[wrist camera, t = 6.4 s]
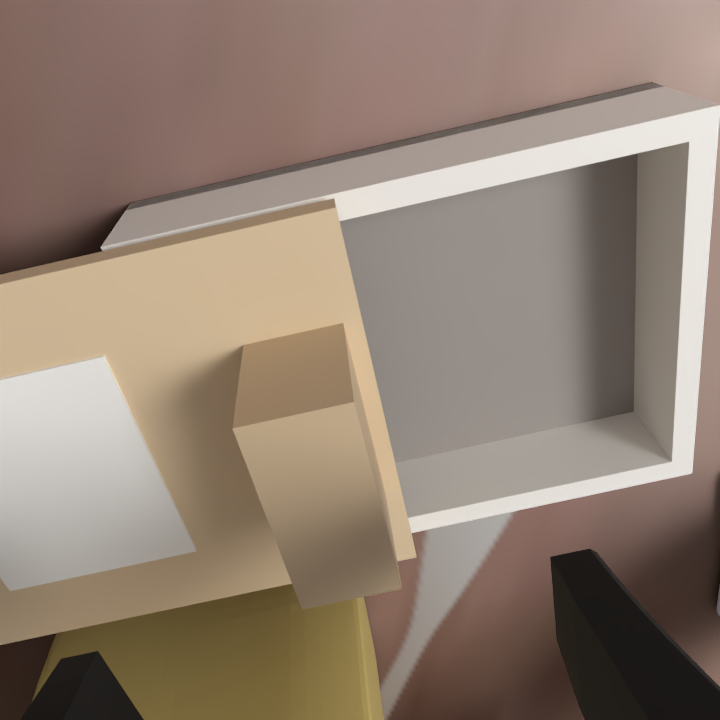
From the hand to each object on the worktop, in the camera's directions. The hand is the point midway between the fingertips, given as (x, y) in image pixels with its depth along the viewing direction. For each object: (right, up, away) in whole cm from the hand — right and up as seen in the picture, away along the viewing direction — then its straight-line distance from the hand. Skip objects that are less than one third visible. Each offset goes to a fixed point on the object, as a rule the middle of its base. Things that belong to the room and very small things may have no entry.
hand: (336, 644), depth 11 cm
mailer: (+2, +6, +8) cm, 10 cm away
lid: (-5, +2, +6) cm, 8 cm away
